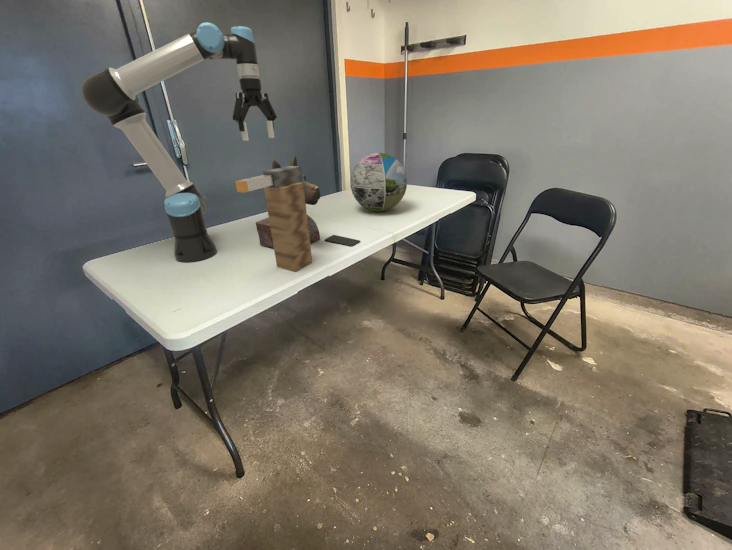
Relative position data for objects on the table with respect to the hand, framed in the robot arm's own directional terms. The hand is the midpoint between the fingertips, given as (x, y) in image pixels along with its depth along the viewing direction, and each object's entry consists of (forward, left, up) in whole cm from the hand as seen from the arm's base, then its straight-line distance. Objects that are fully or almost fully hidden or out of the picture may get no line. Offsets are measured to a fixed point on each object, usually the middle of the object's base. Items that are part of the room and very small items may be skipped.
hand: (259, 139), depth 133 cm
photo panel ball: (+58, +15, -41) cm, 73 cm away
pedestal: (+3, -38, -41) cm, 56 cm away
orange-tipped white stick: (-1, -41, -11) cm, 43 cm away
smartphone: (+26, -22, -41) cm, 53 cm away
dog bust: (+8, -18, -41) cm, 45 cm away
